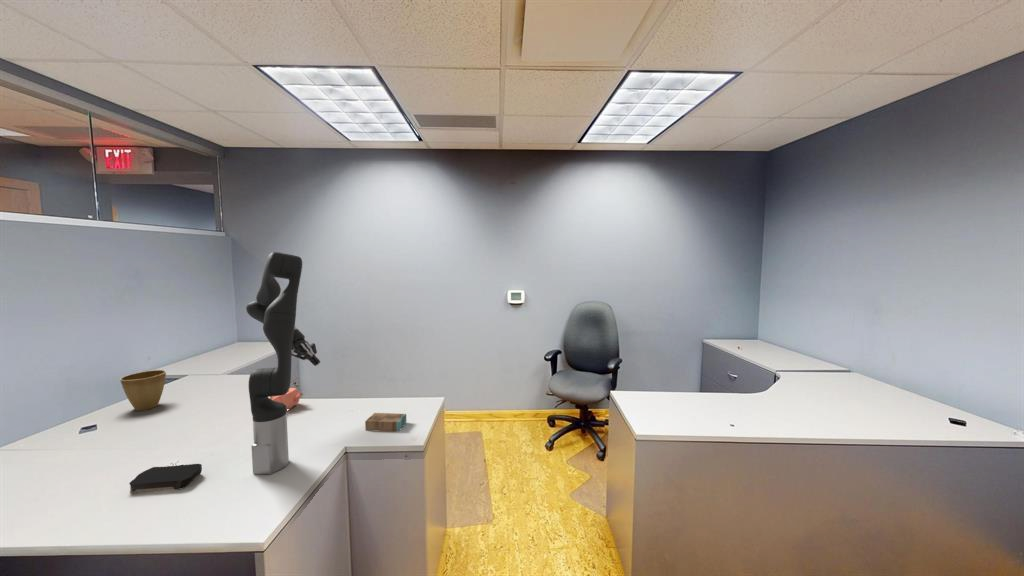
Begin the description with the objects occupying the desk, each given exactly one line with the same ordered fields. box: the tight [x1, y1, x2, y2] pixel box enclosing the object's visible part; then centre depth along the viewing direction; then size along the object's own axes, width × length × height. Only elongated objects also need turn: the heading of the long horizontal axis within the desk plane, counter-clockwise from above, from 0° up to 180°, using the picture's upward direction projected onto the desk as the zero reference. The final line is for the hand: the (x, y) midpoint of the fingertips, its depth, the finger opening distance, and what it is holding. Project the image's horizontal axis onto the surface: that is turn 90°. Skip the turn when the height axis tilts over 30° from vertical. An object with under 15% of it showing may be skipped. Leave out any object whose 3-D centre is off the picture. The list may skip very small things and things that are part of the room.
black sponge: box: [129, 463, 203, 494], centre depth 107 cm, size 16×8×4 cm, turn 97°
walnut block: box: [364, 412, 407, 432], centre depth 144 cm, size 8×4×14 cm
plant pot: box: [119, 369, 167, 411], centre depth 164 cm, size 15×15×16 cm
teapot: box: [269, 387, 304, 410], centre depth 163 cm, size 12×12×10 cm
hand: (318, 363), depth 145 cm, fingers closed
